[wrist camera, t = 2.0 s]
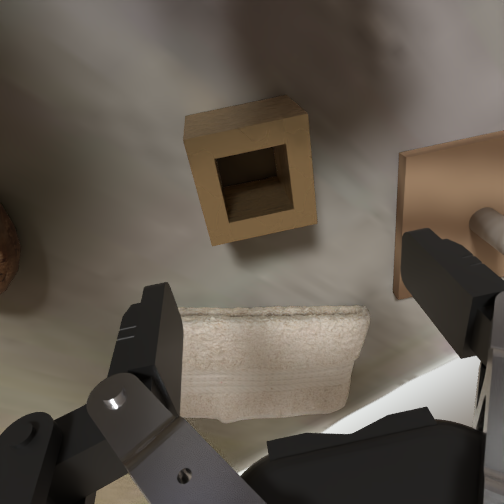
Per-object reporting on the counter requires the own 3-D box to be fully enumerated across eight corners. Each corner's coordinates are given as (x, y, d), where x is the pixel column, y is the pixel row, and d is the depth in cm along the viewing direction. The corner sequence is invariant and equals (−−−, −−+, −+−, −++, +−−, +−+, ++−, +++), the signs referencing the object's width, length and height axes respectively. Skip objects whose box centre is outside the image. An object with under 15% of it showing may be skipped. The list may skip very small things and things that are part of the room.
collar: (185, 115, 22) (183, 139, 18) (286, 94, 22) (308, 113, 18) (209, 207, 25) (212, 246, 21) (297, 188, 25) (317, 223, 21)
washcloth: (150, 301, 29) (146, 329, 27) (368, 296, 32) (383, 321, 29) (159, 399, 35) (156, 430, 33) (340, 389, 38) (351, 416, 35)
